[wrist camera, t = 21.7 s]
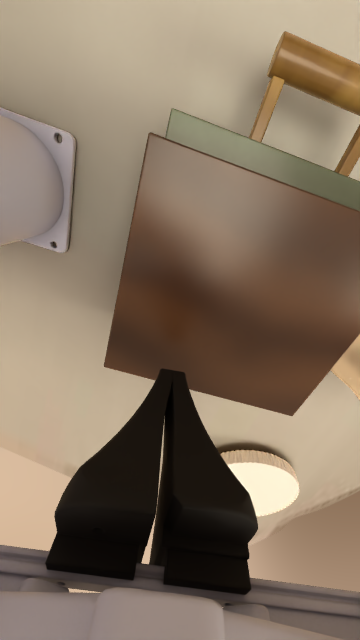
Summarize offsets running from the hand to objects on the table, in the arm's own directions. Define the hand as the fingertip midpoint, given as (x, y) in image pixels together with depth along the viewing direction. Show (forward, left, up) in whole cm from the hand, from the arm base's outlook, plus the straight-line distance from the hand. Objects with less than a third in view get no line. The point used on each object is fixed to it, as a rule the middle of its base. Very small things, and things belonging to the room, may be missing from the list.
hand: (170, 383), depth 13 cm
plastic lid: (+16, -22, -10) cm, 29 cm away
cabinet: (+3, +4, -9) cm, 11 cm away
